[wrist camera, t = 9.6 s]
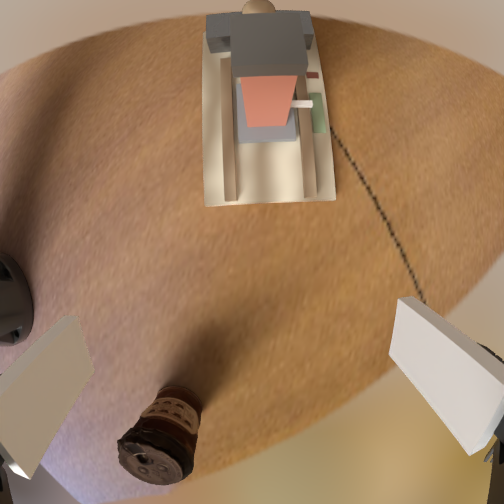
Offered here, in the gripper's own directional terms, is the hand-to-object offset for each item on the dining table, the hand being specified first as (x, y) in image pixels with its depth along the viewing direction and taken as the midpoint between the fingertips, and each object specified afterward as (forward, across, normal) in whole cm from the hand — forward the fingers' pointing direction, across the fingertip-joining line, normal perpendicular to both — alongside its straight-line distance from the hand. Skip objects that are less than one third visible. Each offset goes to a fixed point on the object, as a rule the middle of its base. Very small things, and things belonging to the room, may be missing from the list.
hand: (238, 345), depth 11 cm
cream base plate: (+24, +4, +15) cm, 29 cm away
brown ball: (+21, +4, +25) cm, 33 cm away
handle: (+22, +5, +14) cm, 27 cm away
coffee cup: (+20, -9, -21) cm, 31 cm away
